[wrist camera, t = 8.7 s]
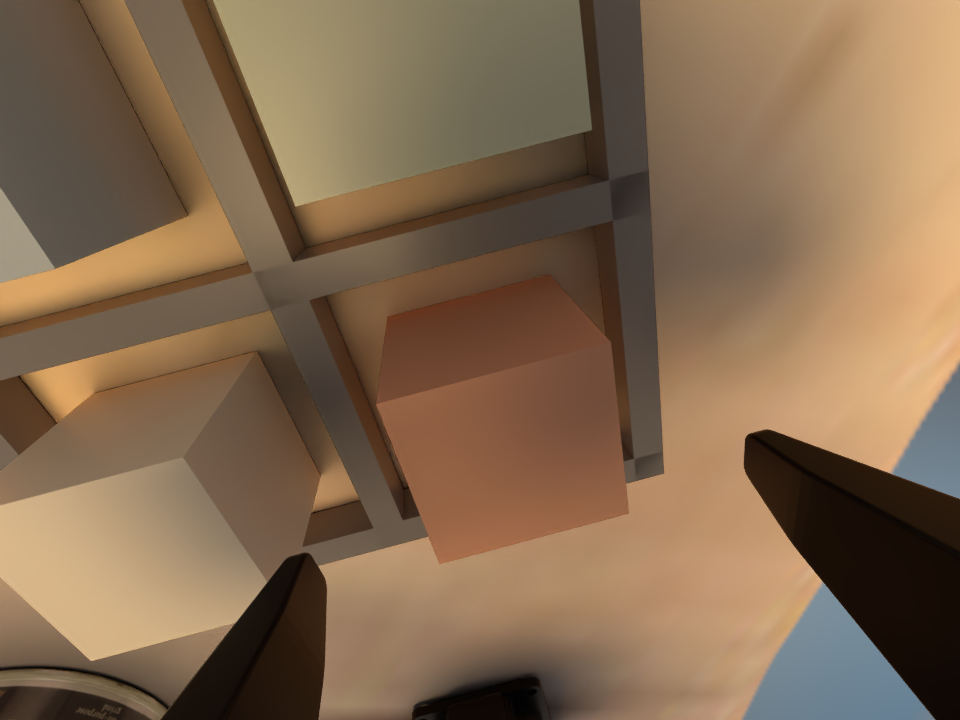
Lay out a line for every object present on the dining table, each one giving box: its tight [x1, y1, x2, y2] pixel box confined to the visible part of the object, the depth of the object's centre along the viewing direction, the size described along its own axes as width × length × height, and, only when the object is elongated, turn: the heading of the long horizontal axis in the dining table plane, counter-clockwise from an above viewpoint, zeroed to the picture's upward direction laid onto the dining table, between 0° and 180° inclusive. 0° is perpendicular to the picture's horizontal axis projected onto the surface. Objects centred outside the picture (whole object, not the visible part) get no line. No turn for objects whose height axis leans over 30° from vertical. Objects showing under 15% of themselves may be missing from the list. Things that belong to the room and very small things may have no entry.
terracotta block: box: [376, 275, 629, 564], centre depth 13 cm, size 5×5×5 cm
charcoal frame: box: [0, 0, 664, 661], centre depth 11 cm, size 19×19×5 cm
